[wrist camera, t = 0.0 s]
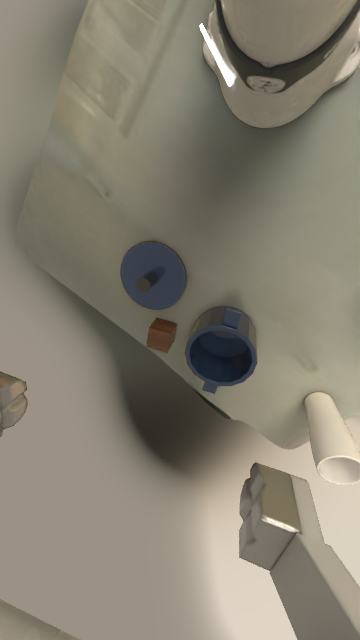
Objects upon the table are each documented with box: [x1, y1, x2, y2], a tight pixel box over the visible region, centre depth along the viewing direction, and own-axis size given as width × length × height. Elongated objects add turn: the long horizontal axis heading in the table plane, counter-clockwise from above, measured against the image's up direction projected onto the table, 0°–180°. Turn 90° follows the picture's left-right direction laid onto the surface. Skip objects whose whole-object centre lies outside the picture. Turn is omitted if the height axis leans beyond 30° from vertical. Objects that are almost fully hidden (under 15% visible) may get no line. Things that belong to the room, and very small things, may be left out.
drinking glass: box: [305, 392, 360, 485], centre depth 44 cm, size 7×7×15 cm
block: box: [147, 318, 177, 353], centre depth 51 cm, size 4×4×4 cm
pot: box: [185, 306, 257, 394], centre depth 46 cm, size 12×17×8 cm
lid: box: [121, 242, 186, 309], centre depth 46 cm, size 13×13×6 cm
